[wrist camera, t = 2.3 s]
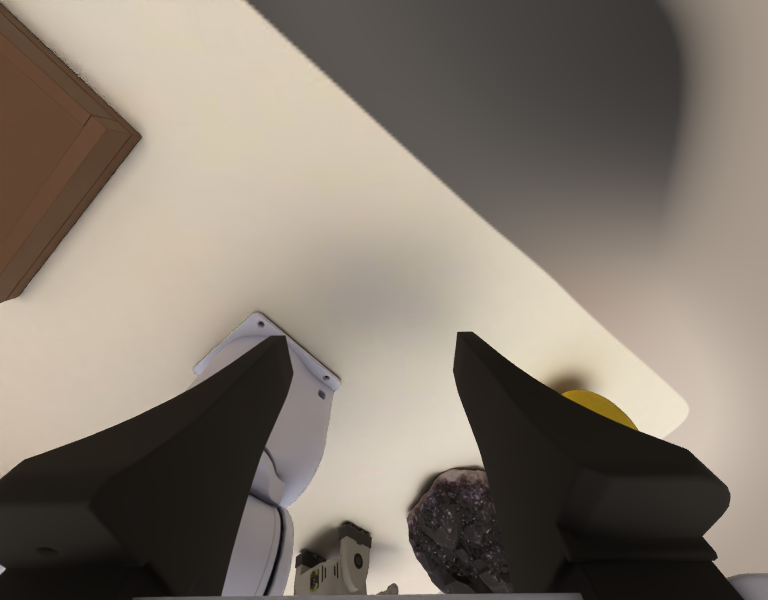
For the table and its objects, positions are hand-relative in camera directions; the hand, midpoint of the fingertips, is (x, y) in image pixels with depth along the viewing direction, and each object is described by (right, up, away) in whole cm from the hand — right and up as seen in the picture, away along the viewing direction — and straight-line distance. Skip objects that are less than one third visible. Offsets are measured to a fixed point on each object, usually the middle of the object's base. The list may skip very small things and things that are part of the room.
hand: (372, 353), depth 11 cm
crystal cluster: (+10, -22, +21) cm, 31 cm away
